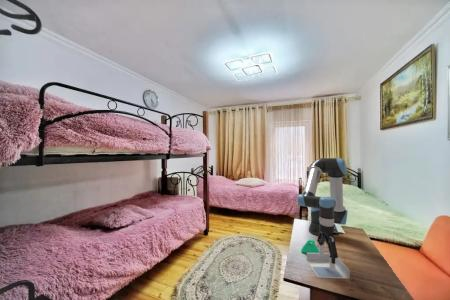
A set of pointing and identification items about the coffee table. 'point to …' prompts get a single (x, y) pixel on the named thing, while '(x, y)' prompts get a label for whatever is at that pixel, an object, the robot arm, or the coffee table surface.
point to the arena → (327, 266)
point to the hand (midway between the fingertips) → (326, 261)
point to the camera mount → (310, 247)
